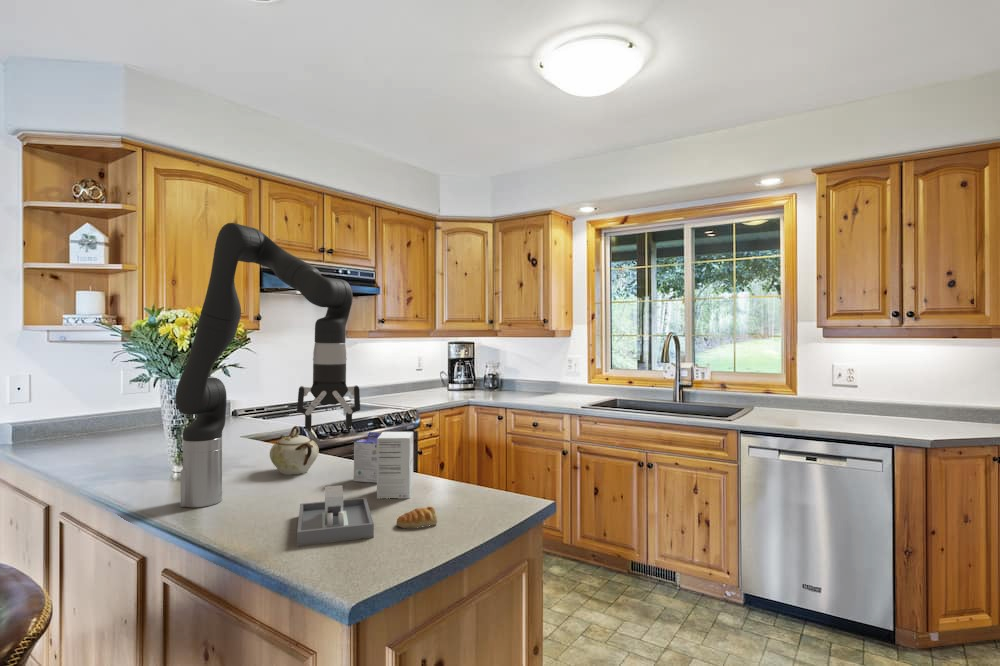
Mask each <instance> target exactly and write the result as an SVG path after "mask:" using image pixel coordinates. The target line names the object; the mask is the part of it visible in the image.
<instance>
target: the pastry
mask: <svg viewBox="0 0 1000 666" xmlns="http://www.w3.org/2000/svg"><path fill="white" fill-rule="evenodd" d="M438 522H439V521H438V516H437V513H436V510H435V508H434V507H433V506H427V507H419V508H414V509H413V510H411V511H409V512H405V513H403V514H402V515H400V516H398V517H397V518H396V526H398V527H400V528H402V529H405V528H407V529H418V528H417V527H422V526H429V525H434V524H436V525H437V524H438Z"/></svg>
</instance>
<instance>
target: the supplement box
mask: <svg viewBox="0 0 1000 666" xmlns="http://www.w3.org/2000/svg"><path fill="white" fill-rule="evenodd" d="M413 490H414V431H382V432H381V434H380V433H379V437H378V438H377V483H376V499H378V500H381V499H382V498H386V499H385V500H387V499H388V498H389V499H390V498H398V499H411V495H412V493H413ZM380 498H381V499H380ZM389 499H388V500H389ZM382 500H383V499H382Z"/></svg>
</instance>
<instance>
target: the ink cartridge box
mask: <svg viewBox="0 0 1000 666" xmlns="http://www.w3.org/2000/svg"><path fill="white" fill-rule="evenodd" d="M372 435H374V436H372ZM379 436H380V432H374V431H373V432H370V431H369V432H368V433H367V438H366V439H358V440H356V441H354V442H353V482H361V483H375V484H377V438H378V437H379Z"/></svg>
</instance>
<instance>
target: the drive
mask: <svg viewBox="0 0 1000 666" xmlns="http://www.w3.org/2000/svg"><path fill="white" fill-rule="evenodd" d="M343 490H344V489H343V485H341V484H340V485H332V486H331V485H329V486H325V487H324V501H325V526H327V513H333V525H338V512H341V511H343V500H344V491H343Z"/></svg>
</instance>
